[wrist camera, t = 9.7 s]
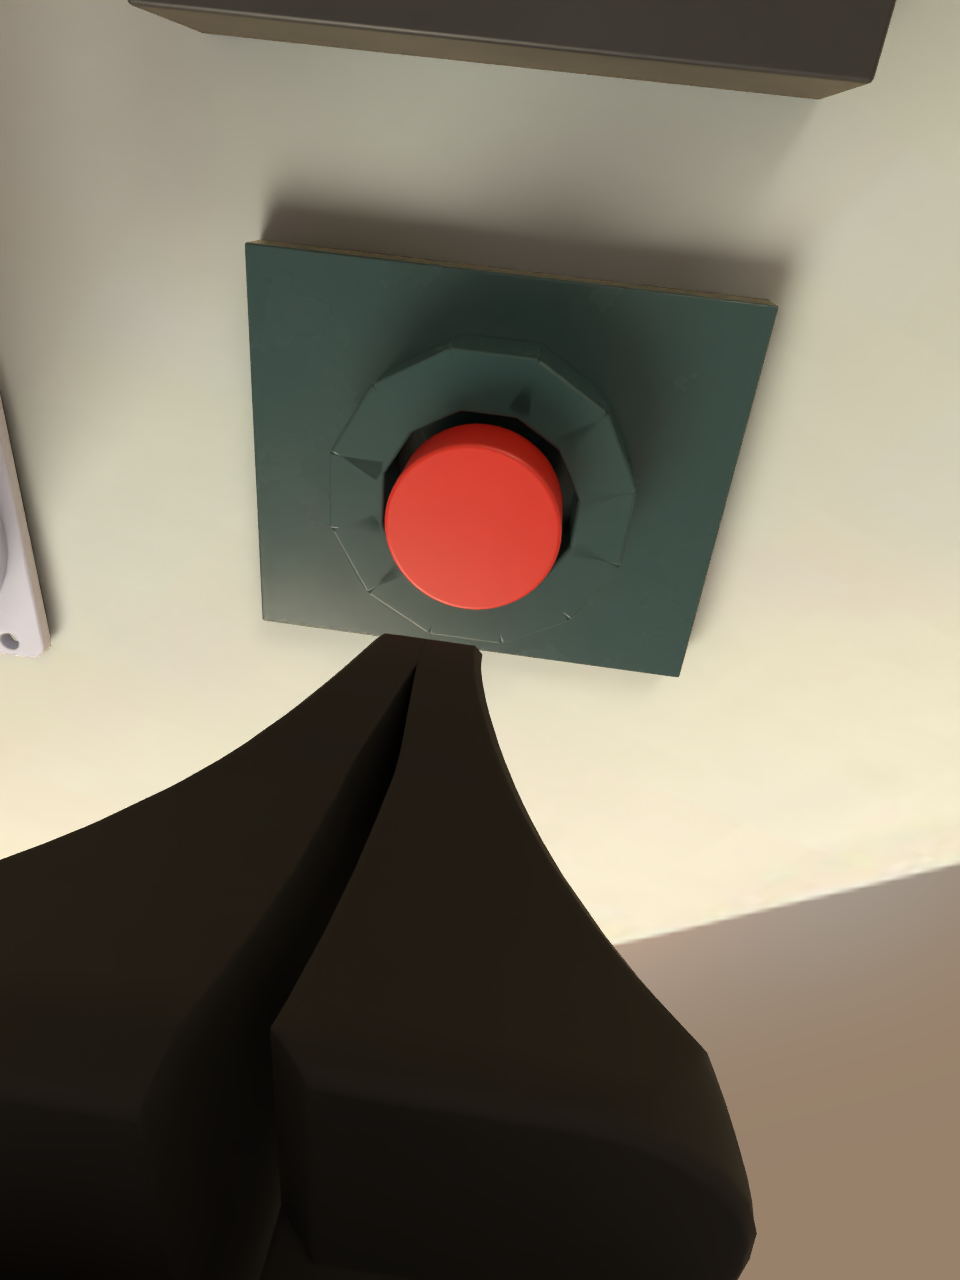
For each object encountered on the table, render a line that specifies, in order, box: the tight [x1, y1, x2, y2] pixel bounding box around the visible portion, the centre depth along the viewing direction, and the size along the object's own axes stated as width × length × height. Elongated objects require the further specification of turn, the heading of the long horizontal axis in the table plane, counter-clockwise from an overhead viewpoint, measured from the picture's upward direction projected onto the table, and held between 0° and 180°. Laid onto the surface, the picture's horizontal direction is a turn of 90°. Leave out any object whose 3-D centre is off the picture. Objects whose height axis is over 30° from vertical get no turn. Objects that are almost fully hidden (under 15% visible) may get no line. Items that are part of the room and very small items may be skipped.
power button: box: [385, 423, 563, 610], centre depth 17 cm, size 4×4×2 cm
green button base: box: [245, 240, 778, 677], centre depth 18 cm, size 11×9×3 cm
